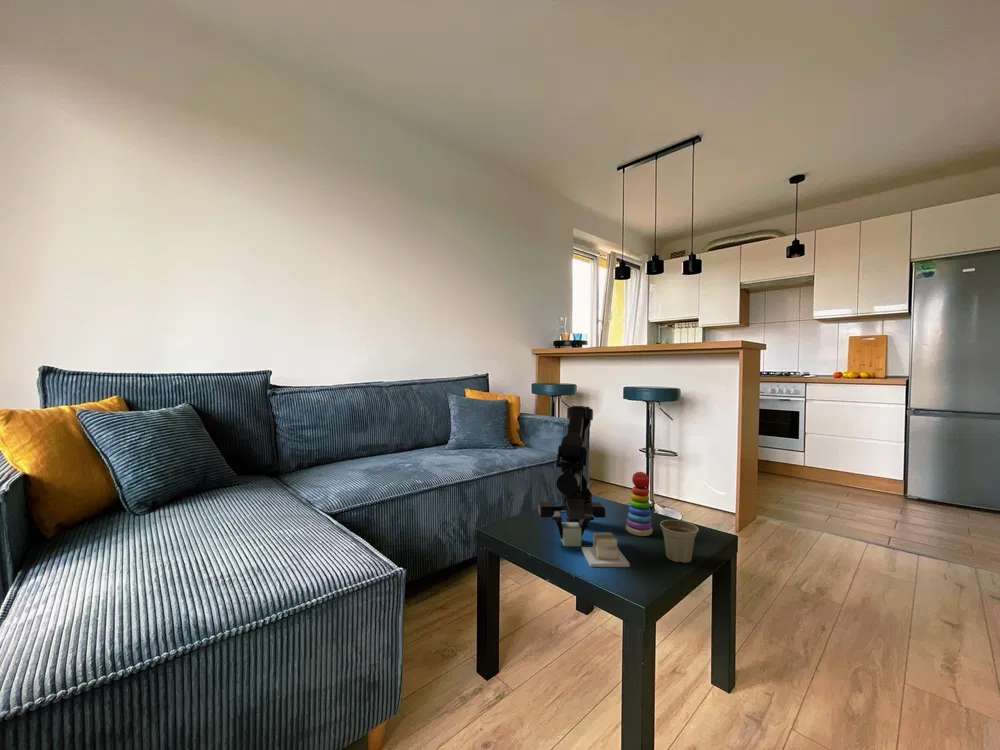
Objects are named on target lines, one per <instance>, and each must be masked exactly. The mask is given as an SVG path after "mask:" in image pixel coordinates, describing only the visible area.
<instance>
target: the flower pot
mask: <svg viewBox="0 0 1000 750" xmlns="http://www.w3.org/2000/svg"><path fill="white" fill-rule="evenodd" d="M659 526H660V527H661V531H662V534H663V540H664V549H665V555H666V557H667V559H669V560H670V561H673V562H675V563H679V562H681V563H683V564H688V563H691V562H692V559H693V557H692V556H693V550H694V544H695V541H696V540H695V538H696V537H697V533H699V527H698V526H697V525H695V524H694V523H691V522H688V521H684V520H678V519H664V520H662V521H660V523H659Z"/></svg>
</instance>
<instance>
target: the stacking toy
mask: <svg viewBox="0 0 1000 750" xmlns="http://www.w3.org/2000/svg"><path fill="white" fill-rule="evenodd" d="M631 478H632V484H633V485H634V486H633V487H632V488H631V492H632V493H631V494H630V501H629V505H630V506H629V507H628V513H627V518H626V525H625V530H626V531H627V532H628V533H629V534H631V535H634V536H639V537H647V536H650V535H652V534H653V531H654V530H653V528H652V524H653V523H652V515H651V513H652V511H651V508H650V507H651V503H650V496H649V493H650V490H649V488H648V486H649V485H650V477H649V476H648V474H647V473H646V472H643V471H636V472H635V473H634V474H633V475H632V477H631Z"/></svg>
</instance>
